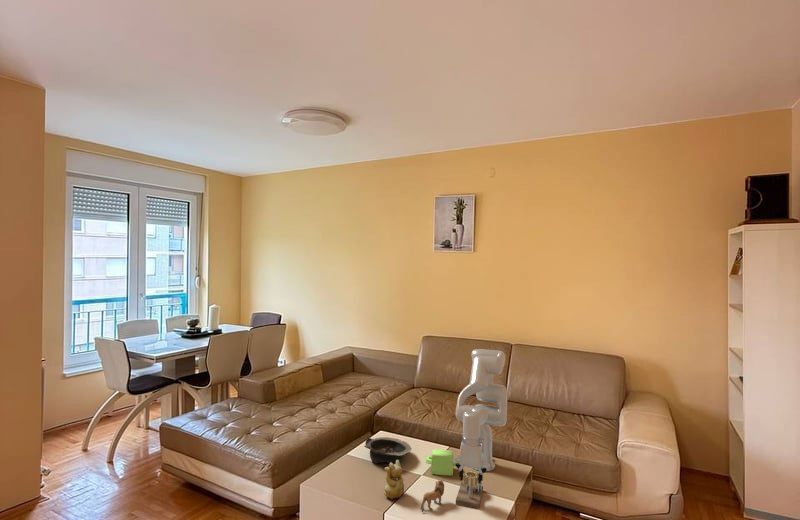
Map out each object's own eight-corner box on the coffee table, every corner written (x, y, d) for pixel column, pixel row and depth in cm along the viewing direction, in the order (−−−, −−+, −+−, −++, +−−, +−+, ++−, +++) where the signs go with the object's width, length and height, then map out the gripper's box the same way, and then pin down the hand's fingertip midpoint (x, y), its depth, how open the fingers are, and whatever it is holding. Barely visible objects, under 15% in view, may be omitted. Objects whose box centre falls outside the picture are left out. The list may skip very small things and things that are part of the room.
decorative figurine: (395, 488, 196) (395, 456, 196) (409, 494, 191) (409, 461, 191) (381, 497, 189) (381, 463, 189) (395, 504, 184) (395, 469, 183)
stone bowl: (357, 465, 217) (358, 447, 218) (374, 448, 241) (375, 431, 241) (403, 472, 210) (404, 453, 210) (416, 454, 234) (416, 436, 234)
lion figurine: (437, 496, 190) (437, 476, 190) (447, 500, 187) (447, 480, 187) (417, 511, 179) (417, 490, 179) (427, 516, 175) (427, 494, 175)
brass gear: (463, 476, 190) (463, 469, 190) (480, 479, 188) (480, 471, 188) (461, 485, 183) (461, 477, 183) (478, 488, 181) (478, 480, 181)
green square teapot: (461, 468, 217) (462, 449, 217) (461, 477, 207) (462, 457, 208) (426, 464, 219) (427, 446, 219) (425, 473, 209) (426, 454, 210)
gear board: (461, 486, 198) (461, 473, 198) (482, 490, 195) (483, 477, 195) (455, 504, 184) (455, 490, 184) (478, 508, 181) (478, 494, 181)
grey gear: (464, 483, 197) (464, 475, 197) (480, 484, 197) (480, 475, 197) (466, 492, 190) (466, 483, 190) (482, 493, 189) (482, 484, 189)
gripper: (492, 439, 186) (491, 479, 186) (453, 434, 192) (452, 473, 192) (490, 446, 179) (490, 488, 179) (450, 441, 184) (449, 481, 184)
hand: (470, 480), depth 185 cm, fingers closed on brass gear, 7 cm apart
